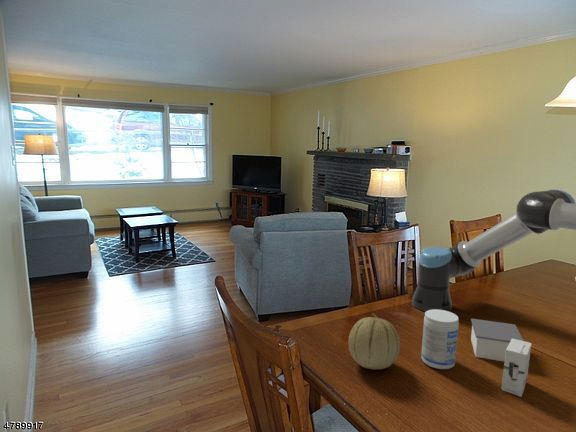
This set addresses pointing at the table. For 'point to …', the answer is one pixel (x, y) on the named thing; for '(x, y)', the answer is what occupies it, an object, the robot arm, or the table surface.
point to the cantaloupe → (374, 343)
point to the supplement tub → (440, 338)
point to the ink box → (516, 367)
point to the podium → (492, 338)
